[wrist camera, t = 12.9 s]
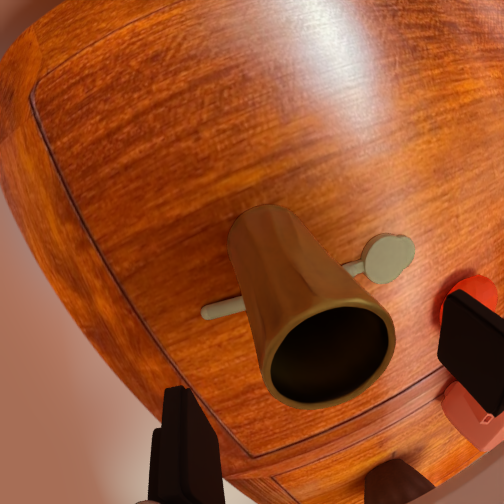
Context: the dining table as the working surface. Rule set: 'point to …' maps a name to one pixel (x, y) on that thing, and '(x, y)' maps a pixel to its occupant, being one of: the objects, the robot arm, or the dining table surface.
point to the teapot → (472, 418)
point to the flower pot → (395, 484)
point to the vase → (306, 313)
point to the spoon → (348, 269)
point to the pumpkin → (477, 291)
